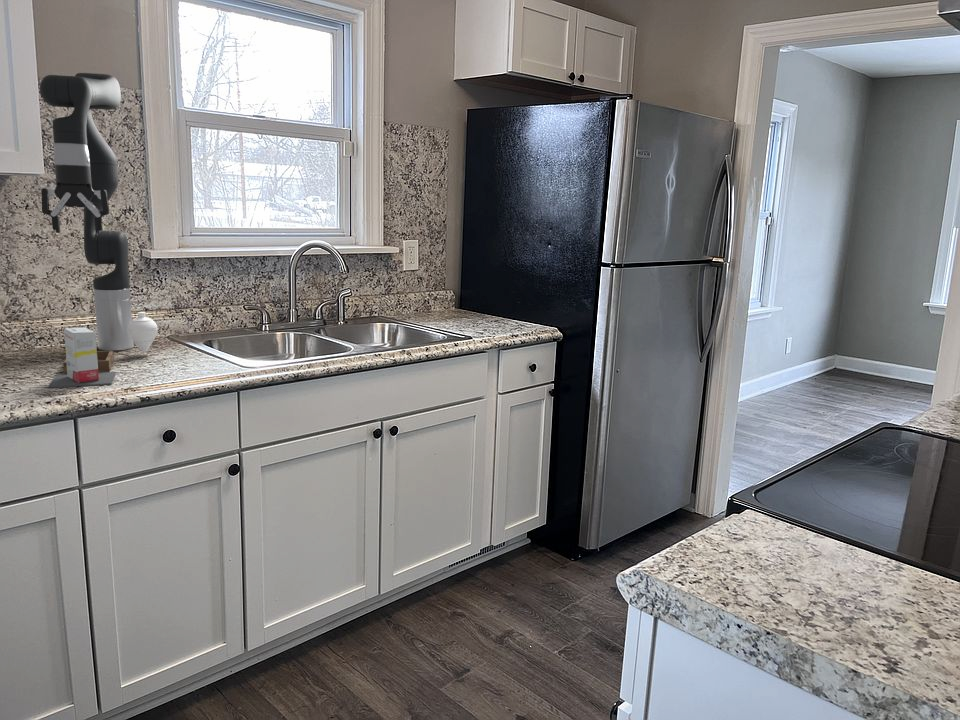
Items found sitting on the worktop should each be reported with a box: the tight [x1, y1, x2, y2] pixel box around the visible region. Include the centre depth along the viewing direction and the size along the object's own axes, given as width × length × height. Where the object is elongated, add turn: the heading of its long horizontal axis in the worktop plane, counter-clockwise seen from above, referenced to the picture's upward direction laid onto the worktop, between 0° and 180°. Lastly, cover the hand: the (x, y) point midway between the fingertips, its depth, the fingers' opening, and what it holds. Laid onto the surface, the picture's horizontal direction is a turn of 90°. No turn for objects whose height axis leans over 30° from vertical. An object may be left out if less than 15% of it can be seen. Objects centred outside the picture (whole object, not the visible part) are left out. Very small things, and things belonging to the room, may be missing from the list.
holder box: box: [62, 350, 115, 374], centre depth 191 cm, size 13×10×3 cm
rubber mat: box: [47, 371, 117, 389], centre depth 179 cm, size 12×13×1 cm
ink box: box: [63, 327, 99, 383], centre depth 178 cm, size 9×5×12 cm, turn 42°
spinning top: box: [127, 311, 159, 356], centre depth 207 cm, size 8×8×12 cm
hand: (78, 232), depth 183 cm, fingers open, 8 cm apart
